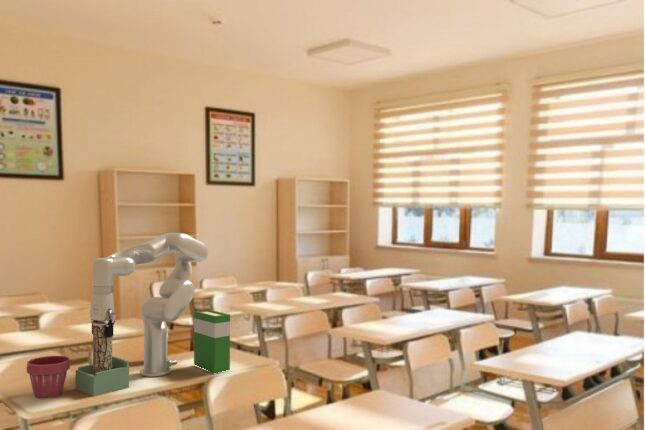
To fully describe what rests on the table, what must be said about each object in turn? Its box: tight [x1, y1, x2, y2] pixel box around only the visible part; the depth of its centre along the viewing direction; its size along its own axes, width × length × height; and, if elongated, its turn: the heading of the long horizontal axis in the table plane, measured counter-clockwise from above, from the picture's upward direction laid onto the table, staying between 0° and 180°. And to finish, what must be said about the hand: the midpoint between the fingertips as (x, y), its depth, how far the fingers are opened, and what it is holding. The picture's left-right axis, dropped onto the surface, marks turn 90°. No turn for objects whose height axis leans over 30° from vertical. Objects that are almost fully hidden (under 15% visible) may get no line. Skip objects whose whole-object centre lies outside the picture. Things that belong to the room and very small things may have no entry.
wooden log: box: [92, 320, 113, 376], centre depth 205 cm, size 7×7×25 cm
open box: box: [74, 355, 130, 397], centre depth 205 cm, size 14×14×10 cm
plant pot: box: [26, 355, 71, 400], centre depth 197 cm, size 14×14×13 cm
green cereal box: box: [193, 309, 231, 374], centre depth 234 cm, size 18×7×24 cm, turn 42°
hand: (102, 335), depth 205 cm, fingers open, 9 cm apart
